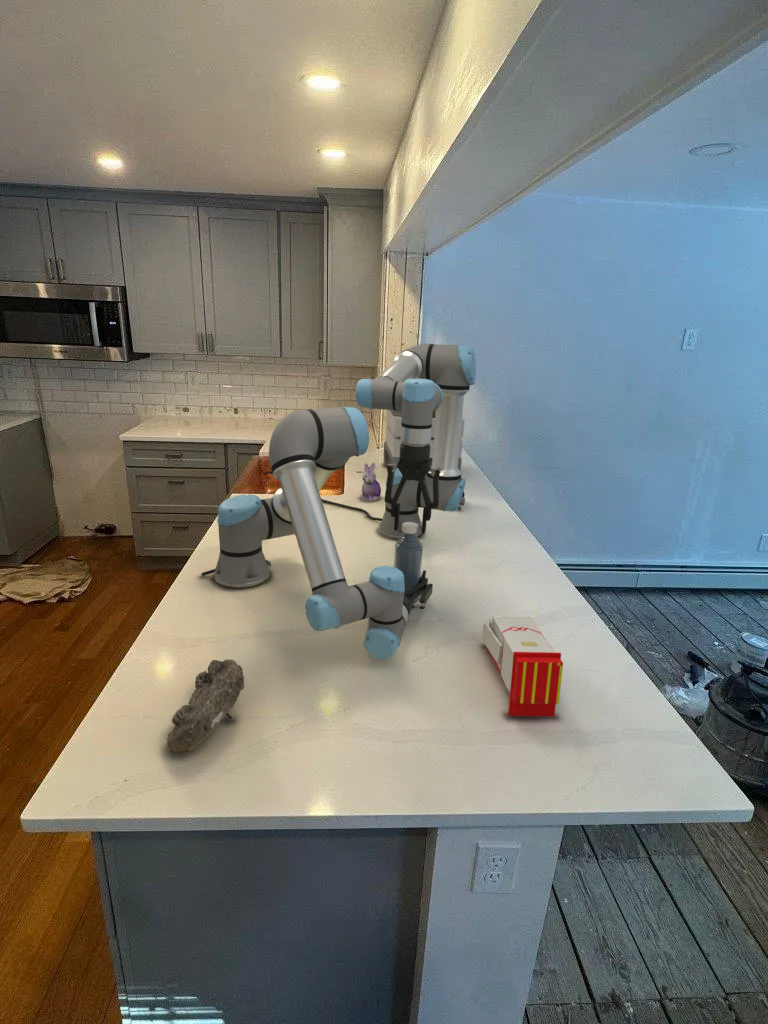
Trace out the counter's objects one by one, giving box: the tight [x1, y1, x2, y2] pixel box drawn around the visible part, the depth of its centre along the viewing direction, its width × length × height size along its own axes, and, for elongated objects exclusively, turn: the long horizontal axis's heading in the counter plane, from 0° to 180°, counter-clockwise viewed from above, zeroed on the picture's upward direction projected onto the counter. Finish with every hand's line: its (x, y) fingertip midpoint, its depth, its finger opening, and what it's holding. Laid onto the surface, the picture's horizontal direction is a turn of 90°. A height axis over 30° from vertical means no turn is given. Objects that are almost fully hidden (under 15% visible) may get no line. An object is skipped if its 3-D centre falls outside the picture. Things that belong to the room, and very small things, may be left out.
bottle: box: [393, 533, 424, 601], centre depth 151 cm, size 7×7×21 cm
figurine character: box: [457, 490, 466, 510], centre depth 230 cm, size 7×8×15 cm
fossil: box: [166, 658, 245, 754], centre depth 106 cm, size 22×10×15 cm
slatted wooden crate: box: [383, 410, 465, 472], centre depth 268 cm, size 34×33×41 cm
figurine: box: [360, 462, 382, 502], centre depth 233 cm, size 9×10×15 cm
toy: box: [481, 615, 564, 718], centre depth 123 cm, size 12×13×30 cm
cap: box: [402, 522, 419, 534], centre depth 147 cm, size 4×4×2 cm
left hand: (409, 572), depth 157 cm, fingers closed on bottle, 7 cm apart
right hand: (409, 529), depth 148 cm, fingers open, 6 cm apart
